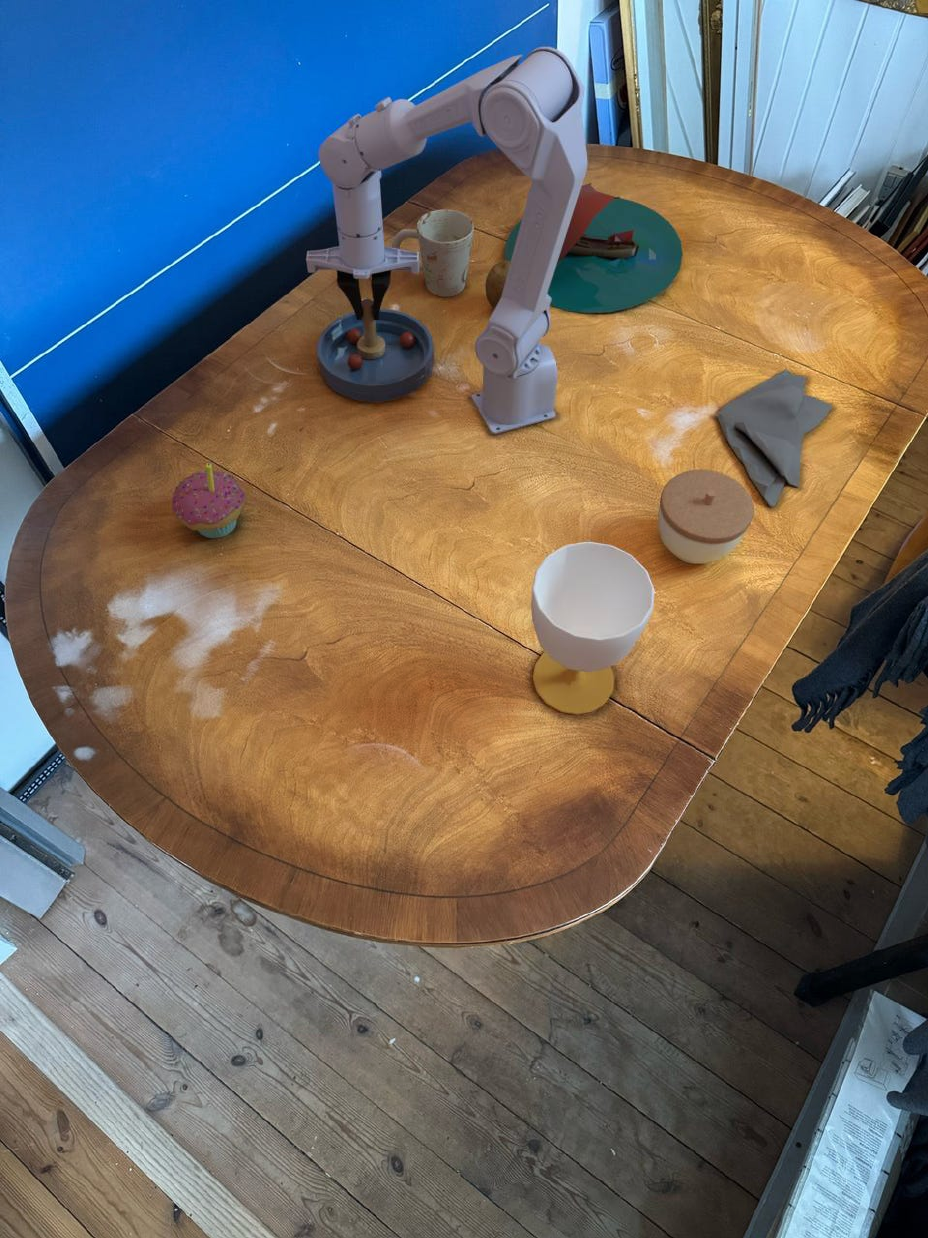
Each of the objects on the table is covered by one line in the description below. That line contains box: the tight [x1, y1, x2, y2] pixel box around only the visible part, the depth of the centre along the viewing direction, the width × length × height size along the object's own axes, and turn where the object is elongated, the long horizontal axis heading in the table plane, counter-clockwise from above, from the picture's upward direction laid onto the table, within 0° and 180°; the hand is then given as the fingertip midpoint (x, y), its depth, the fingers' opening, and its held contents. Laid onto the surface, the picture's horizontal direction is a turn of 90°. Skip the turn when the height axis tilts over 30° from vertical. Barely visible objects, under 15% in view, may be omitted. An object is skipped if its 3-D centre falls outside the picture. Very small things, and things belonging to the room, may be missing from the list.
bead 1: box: [347, 329, 362, 345], centre depth 128 cm, size 2×2×2 cm
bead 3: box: [400, 332, 415, 348], centre depth 128 cm, size 2×2×2 cm
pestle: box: [357, 298, 386, 359], centre depth 125 cm, size 4×4×8 cm
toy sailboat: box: [504, 182, 683, 314], centre depth 138 cm, size 28×28×11 cm
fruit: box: [485, 260, 511, 310], centre depth 131 cm, size 6×6×8 cm
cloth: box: [716, 368, 833, 508], centre depth 120 cm, size 26×14×2 cm, turn 151°
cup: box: [530, 541, 656, 715], centre depth 92 cm, size 12×12×17 cm
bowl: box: [316, 308, 435, 403], centre depth 126 cm, size 16×16×4 cm
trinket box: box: [657, 468, 755, 565], centre depth 106 cm, size 11×11×9 cm
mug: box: [391, 209, 475, 298], centre depth 134 cm, size 8×13×10 cm, turn 78°
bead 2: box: [347, 354, 363, 370], centre depth 125 cm, size 2×2×2 cm
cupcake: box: [171, 459, 246, 539], centre depth 106 cm, size 9×8×12 cm
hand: (368, 315), depth 123 cm, fingers closed on pestle, 2 cm apart
